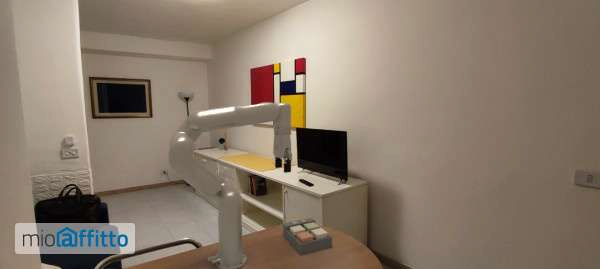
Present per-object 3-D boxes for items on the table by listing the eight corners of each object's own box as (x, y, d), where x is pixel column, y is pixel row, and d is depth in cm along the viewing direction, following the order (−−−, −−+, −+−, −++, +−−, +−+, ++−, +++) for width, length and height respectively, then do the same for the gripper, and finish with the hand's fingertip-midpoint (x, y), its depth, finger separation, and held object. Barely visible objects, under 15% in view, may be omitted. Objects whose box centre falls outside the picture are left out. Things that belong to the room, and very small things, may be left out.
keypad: (300, 255, 124) (300, 239, 123) (283, 237, 141) (283, 223, 140) (331, 247, 131) (331, 231, 130) (311, 230, 148) (311, 217, 147)
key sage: (308, 232, 136) (308, 228, 135) (303, 228, 140) (303, 224, 140) (319, 230, 138) (319, 226, 138) (313, 225, 143) (313, 222, 143)
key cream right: (316, 239, 129) (316, 235, 129) (310, 234, 134) (310, 230, 134) (327, 236, 131) (327, 232, 131) (321, 231, 136) (321, 227, 136)
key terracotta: (302, 243, 126) (302, 238, 125) (296, 237, 130) (296, 233, 130) (313, 240, 128) (313, 236, 128) (307, 235, 133) (307, 231, 133)
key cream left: (294, 236, 132) (294, 232, 132) (289, 231, 137) (289, 227, 137) (305, 233, 135) (305, 229, 134) (300, 228, 140) (300, 225, 139)
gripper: (267, 130, 130) (268, 166, 132) (282, 133, 115) (282, 175, 117) (282, 129, 134) (282, 165, 136) (299, 132, 118) (299, 173, 120)
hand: (282, 169), depth 126 cm, fingers open, 9 cm apart
